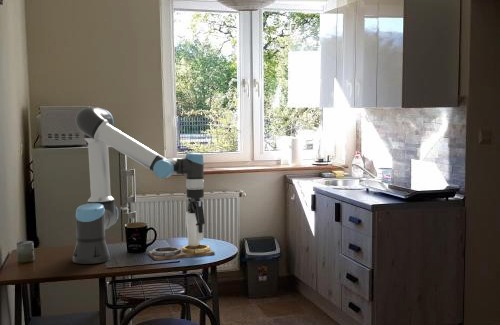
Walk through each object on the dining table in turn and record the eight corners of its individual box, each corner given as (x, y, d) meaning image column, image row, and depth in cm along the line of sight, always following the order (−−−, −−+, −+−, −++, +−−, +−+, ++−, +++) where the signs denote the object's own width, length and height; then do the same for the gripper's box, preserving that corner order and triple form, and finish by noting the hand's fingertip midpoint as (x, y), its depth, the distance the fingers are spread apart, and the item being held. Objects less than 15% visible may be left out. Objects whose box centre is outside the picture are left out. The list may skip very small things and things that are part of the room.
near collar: (156, 256, 243) (156, 253, 243) (150, 251, 254) (150, 248, 254) (182, 254, 248) (182, 251, 248) (176, 249, 258) (176, 245, 258)
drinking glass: (202, 243, 262) (202, 210, 260) (200, 247, 255) (199, 213, 253) (187, 243, 262) (187, 210, 261) (184, 246, 256) (184, 213, 254)
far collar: (186, 254, 248) (186, 250, 248) (179, 248, 259) (179, 245, 259) (212, 251, 252) (212, 248, 252) (204, 246, 263) (204, 243, 263)
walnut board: (155, 260, 243) (155, 257, 243) (148, 254, 255) (148, 251, 255) (214, 254, 252) (214, 252, 252) (205, 248, 264) (205, 246, 264)
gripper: (211, 190, 244) (212, 241, 245) (195, 185, 267) (196, 232, 268) (194, 191, 241) (195, 243, 243) (179, 186, 264) (180, 233, 265)
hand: (195, 237), depth 255 cm, fingers open, 12 cm apart
